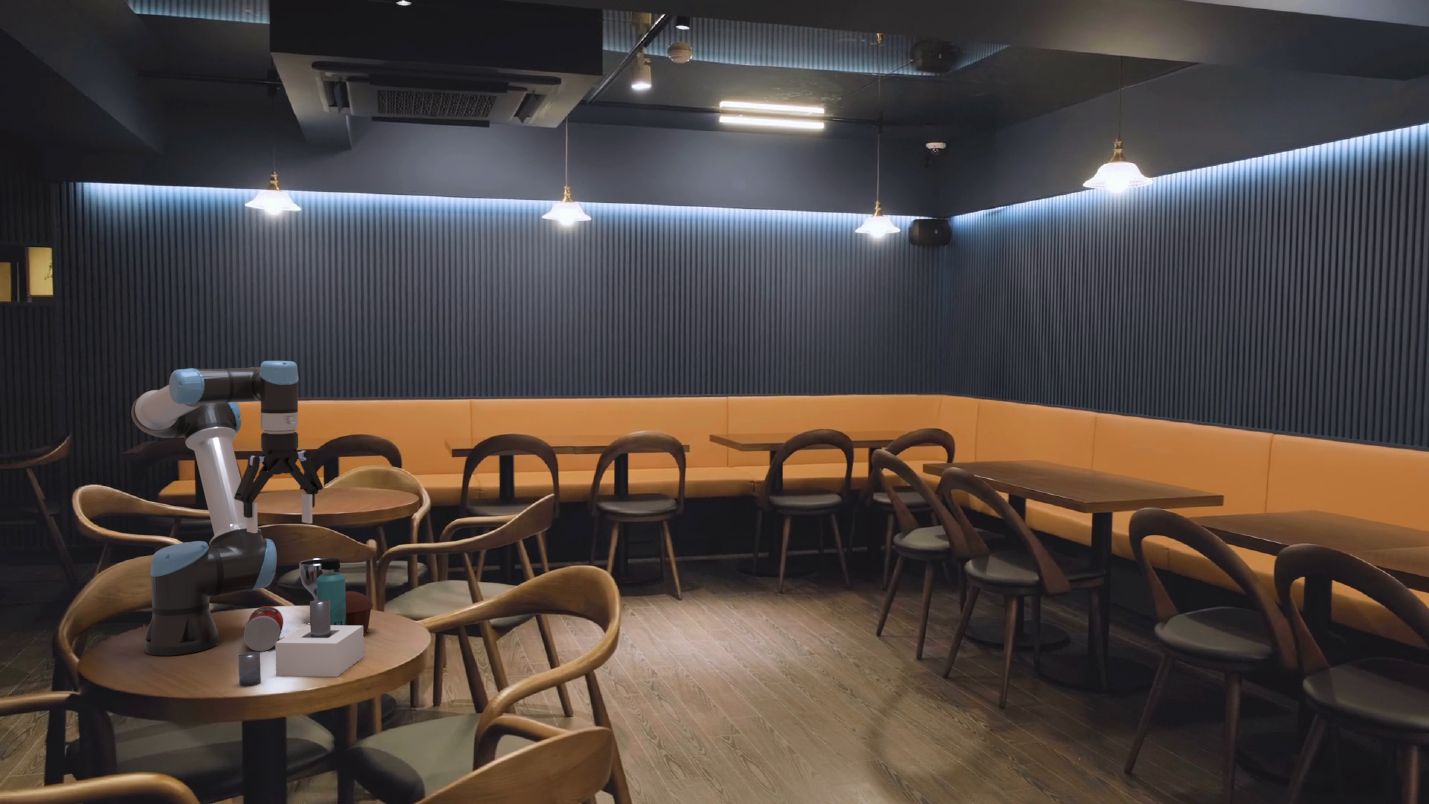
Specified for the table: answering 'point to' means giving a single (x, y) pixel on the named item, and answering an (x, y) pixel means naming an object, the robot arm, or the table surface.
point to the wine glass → (311, 576)
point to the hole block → (319, 652)
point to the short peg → (249, 669)
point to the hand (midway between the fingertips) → (280, 527)
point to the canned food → (263, 628)
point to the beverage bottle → (333, 591)
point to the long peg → (320, 618)
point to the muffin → (358, 610)
